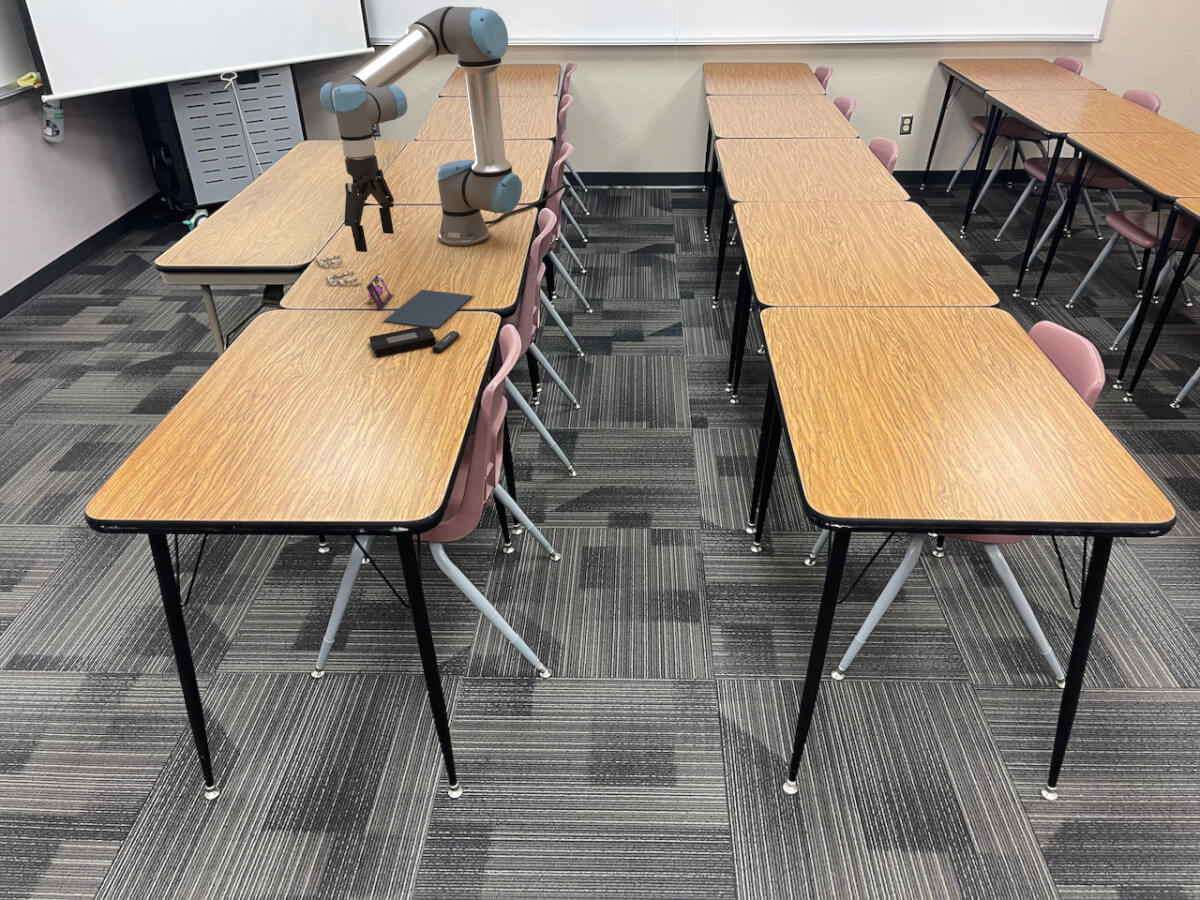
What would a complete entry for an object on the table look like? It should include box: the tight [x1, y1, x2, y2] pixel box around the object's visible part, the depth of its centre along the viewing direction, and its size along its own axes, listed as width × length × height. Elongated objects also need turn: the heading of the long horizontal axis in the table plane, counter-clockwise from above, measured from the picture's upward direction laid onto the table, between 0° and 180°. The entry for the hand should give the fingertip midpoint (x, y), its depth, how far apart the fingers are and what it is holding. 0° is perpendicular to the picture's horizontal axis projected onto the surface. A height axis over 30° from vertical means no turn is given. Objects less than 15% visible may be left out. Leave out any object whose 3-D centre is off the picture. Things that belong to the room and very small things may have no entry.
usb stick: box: [431, 330, 460, 353], centre depth 195 cm, size 10×3×2 cm, turn 159°
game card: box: [365, 273, 392, 311], centre depth 215 cm, size 7×5×9 cm
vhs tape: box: [368, 325, 437, 358], centre depth 195 cm, size 8×14×2 cm, turn 114°
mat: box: [384, 289, 473, 330], centre depth 212 cm, size 20×15×1 cm
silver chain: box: [315, 252, 358, 287], centre depth 234 cm, size 7×25×2 cm, turn 25°
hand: (375, 242), depth 206 cm, fingers open, 13 cm apart
